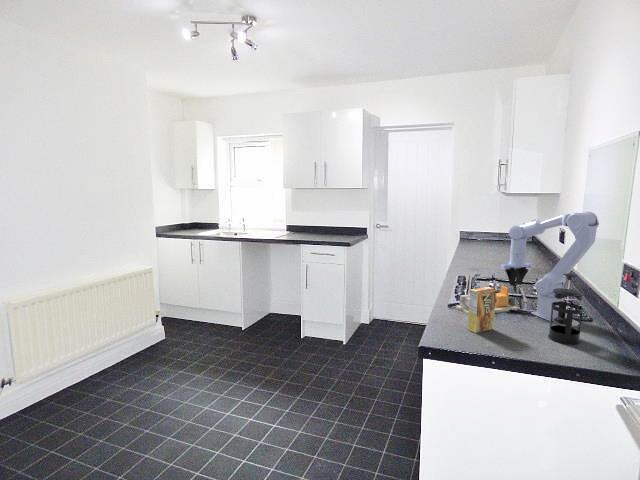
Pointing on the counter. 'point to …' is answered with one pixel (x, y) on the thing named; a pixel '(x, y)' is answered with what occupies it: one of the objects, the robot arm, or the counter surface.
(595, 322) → the counter surface
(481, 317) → the candy box
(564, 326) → the french press
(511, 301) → the cord rig
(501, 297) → the orange stepped block
